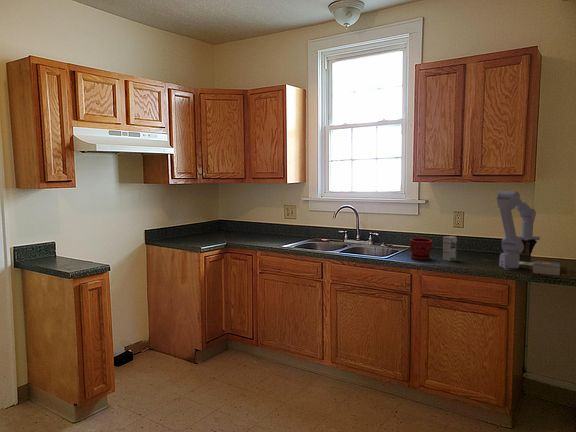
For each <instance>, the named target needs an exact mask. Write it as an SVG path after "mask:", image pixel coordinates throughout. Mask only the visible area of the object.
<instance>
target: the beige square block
mask: <svg viewBox="0 0 576 432" xmlns="http://www.w3.org/2000/svg"><path fill="white" fill-rule="evenodd" d="M519 265H523V266H533V265H534V262H530V261H521V260H519Z"/></svg>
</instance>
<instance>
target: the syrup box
mask: <svg viewBox="0 0 576 432" xmlns="http://www.w3.org/2000/svg"><path fill="white" fill-rule="evenodd" d="M457 246H458V237H457V236H453V235H449V236H448V235H447V236H443V237H442V260H444V261H448V262H452V261H457V254H458V253H457V250H458V249H457V248H458V247H457Z"/></svg>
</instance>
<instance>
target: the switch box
mask: <svg viewBox="0 0 576 432" xmlns="http://www.w3.org/2000/svg"><path fill="white" fill-rule="evenodd" d="M542 262H544V263H551V264H552V265H545V264H542ZM533 263H534V265H533V267H532V268H533V269H532V273H533V274H538V273H539V274H540V275H548V276H549V275H550V276H551V275H552V276H560V274H561V264H560V262H554V261H542V260H534V261H533Z"/></svg>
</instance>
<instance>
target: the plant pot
mask: <svg viewBox="0 0 576 432" xmlns="http://www.w3.org/2000/svg"><path fill="white" fill-rule="evenodd" d="M409 241H410V243H409V245H410V246H409V248H410V253H411V254H410V257H411V258H412V259H413V260H420V261H423V260H425V261H426V260H429V259H430V258H431V255H430V254H431V251H432V248H433V240H432V239H429V238H424V237H423V238H422V237H421V238H420V237H415V238H410V239H409Z"/></svg>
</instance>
